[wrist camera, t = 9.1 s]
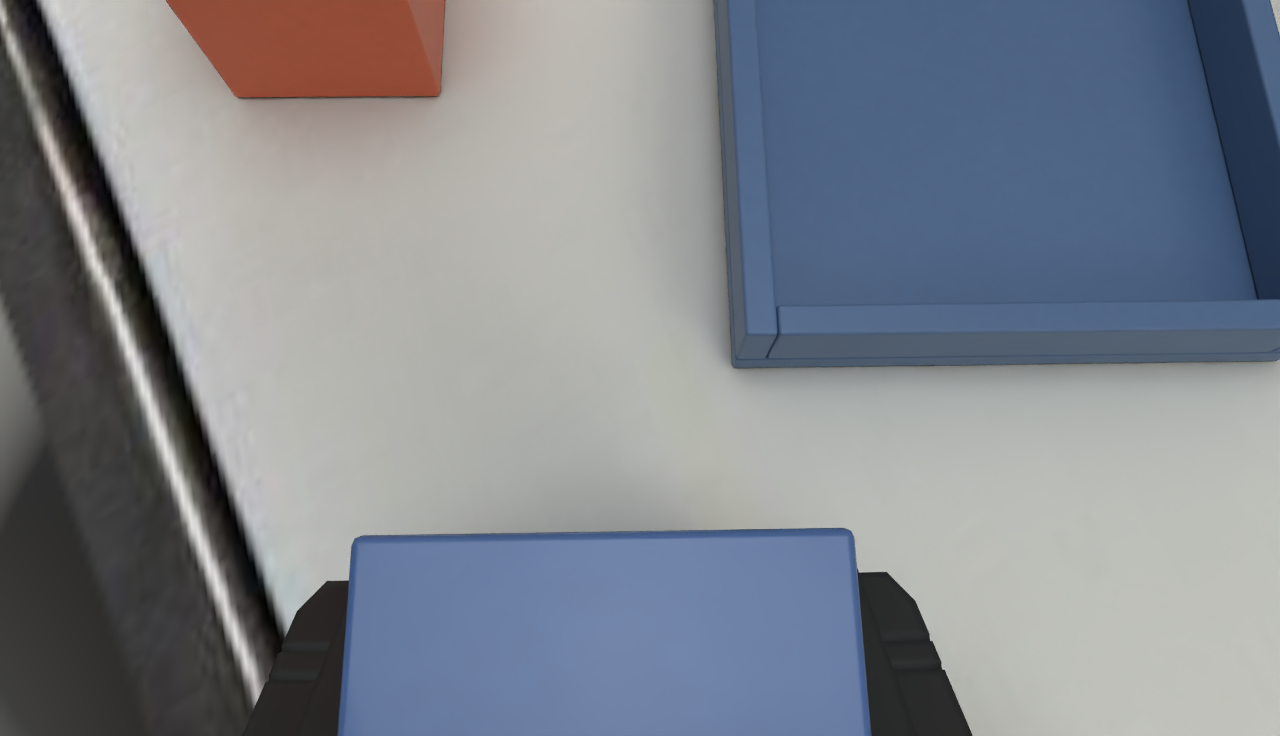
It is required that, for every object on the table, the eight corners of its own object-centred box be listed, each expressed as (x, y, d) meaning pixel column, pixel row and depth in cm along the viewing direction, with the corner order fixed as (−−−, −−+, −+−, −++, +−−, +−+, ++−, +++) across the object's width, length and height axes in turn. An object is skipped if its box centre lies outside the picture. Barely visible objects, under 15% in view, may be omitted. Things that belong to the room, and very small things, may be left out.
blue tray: (731, 368, 18) (745, 335, 16) (709, -82, 21) (717, -157, 19) (1277, 361, 18) (1359, 327, 16) (1172, -82, 21) (1230, -157, 19)
